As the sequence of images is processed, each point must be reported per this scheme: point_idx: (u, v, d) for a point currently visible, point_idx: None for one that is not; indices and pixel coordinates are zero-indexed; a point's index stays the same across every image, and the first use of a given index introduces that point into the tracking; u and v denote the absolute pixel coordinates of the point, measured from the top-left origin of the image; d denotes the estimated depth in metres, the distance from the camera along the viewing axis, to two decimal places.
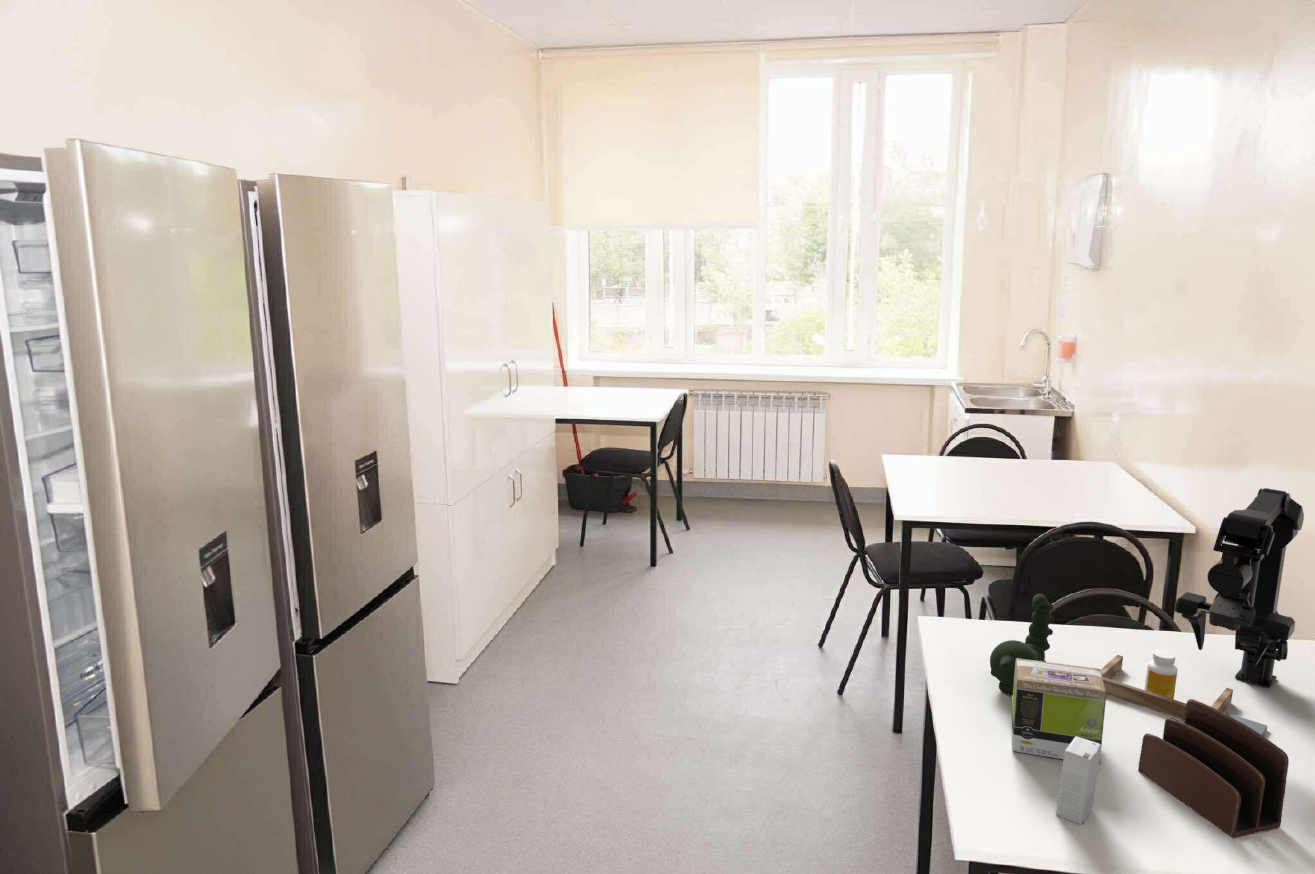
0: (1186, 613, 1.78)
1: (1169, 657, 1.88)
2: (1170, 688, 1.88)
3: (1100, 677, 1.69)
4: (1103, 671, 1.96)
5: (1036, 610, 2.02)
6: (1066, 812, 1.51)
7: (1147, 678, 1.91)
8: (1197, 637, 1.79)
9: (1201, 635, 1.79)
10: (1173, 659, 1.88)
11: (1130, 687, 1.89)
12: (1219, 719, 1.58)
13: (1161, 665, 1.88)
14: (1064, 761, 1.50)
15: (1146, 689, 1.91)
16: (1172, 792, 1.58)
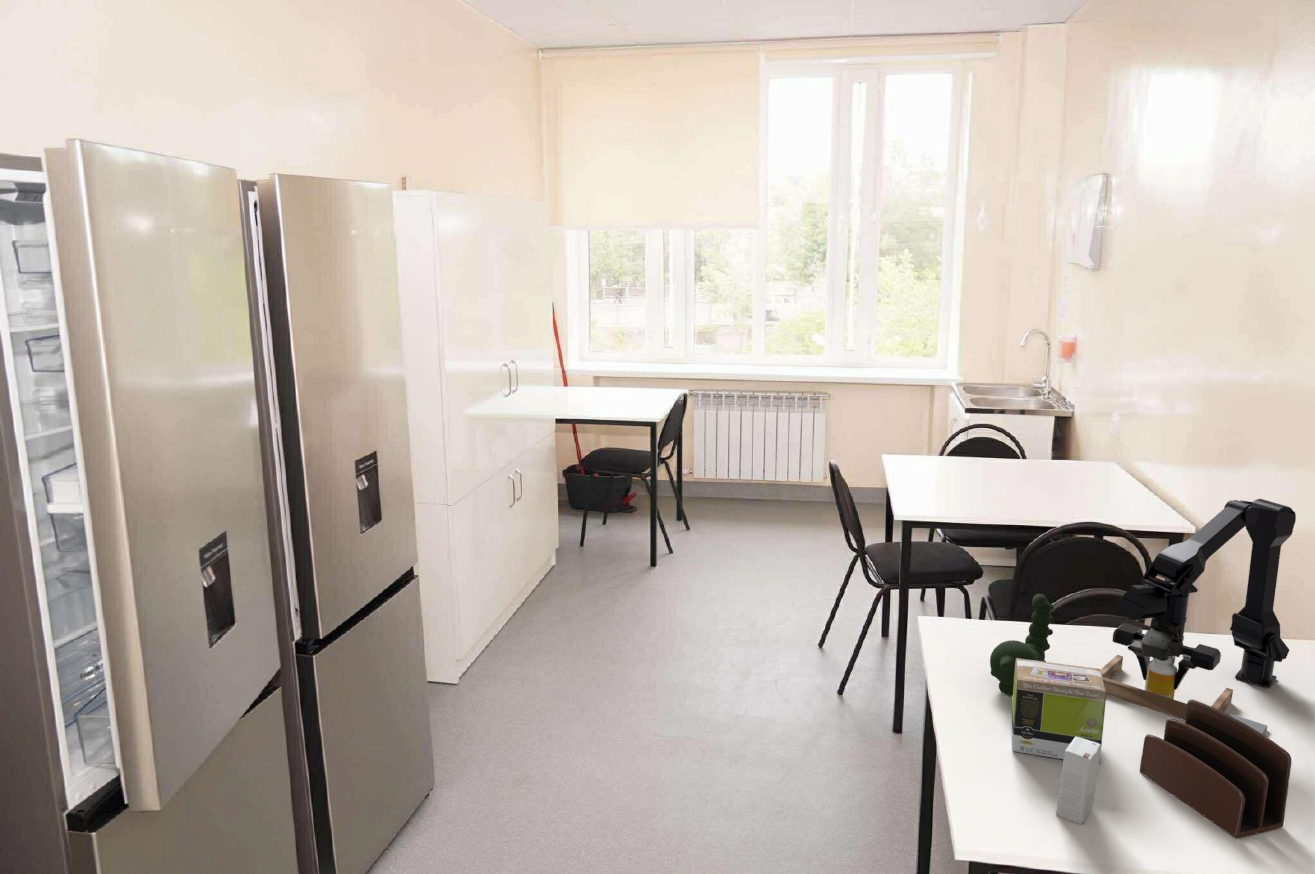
0: (1122, 643, 1.92)
1: (1169, 657, 1.88)
2: (1170, 688, 1.88)
3: (1100, 677, 1.69)
4: (1103, 671, 1.96)
5: (1036, 610, 2.02)
6: (1066, 812, 1.51)
7: (1147, 678, 1.91)
8: (1142, 668, 1.92)
9: (1146, 666, 1.91)
10: (1173, 659, 1.87)
11: (1130, 687, 1.89)
12: (1220, 719, 1.58)
13: (1161, 665, 1.88)
14: (1064, 761, 1.50)
15: (1146, 689, 1.91)
16: (1175, 793, 1.57)
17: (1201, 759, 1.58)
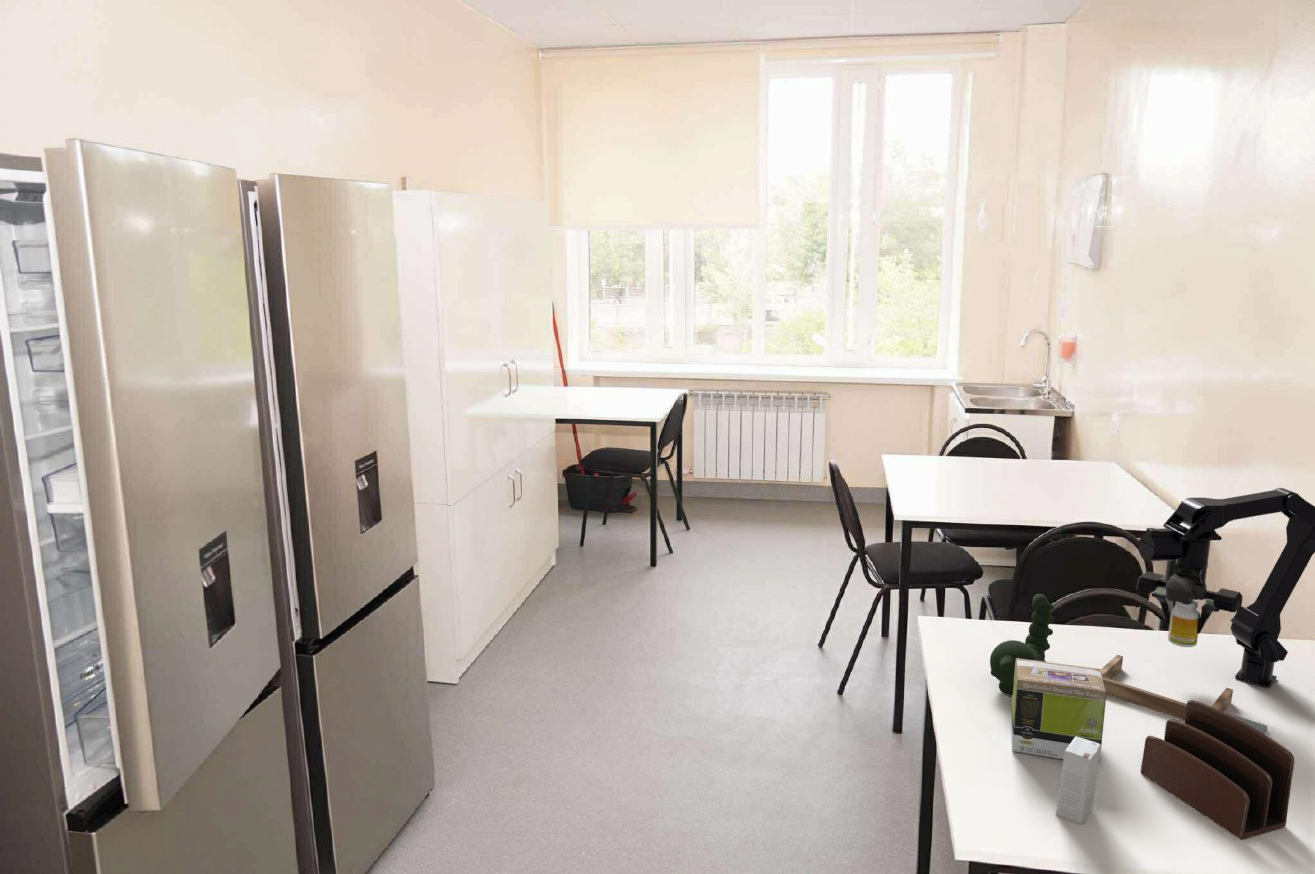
0: (1146, 590, 1.97)
1: (1192, 602, 1.93)
2: (1193, 632, 1.94)
3: (1100, 677, 1.69)
4: (1103, 671, 1.96)
5: (1036, 610, 2.02)
6: (1066, 812, 1.51)
7: (1171, 623, 1.96)
8: (1165, 614, 1.97)
9: (1169, 612, 1.97)
10: (1196, 604, 1.93)
11: (1130, 687, 1.89)
12: (1221, 719, 1.58)
13: (1184, 610, 1.94)
14: (1064, 761, 1.50)
15: (1170, 634, 1.97)
16: (1177, 794, 1.57)
17: (1203, 760, 1.57)
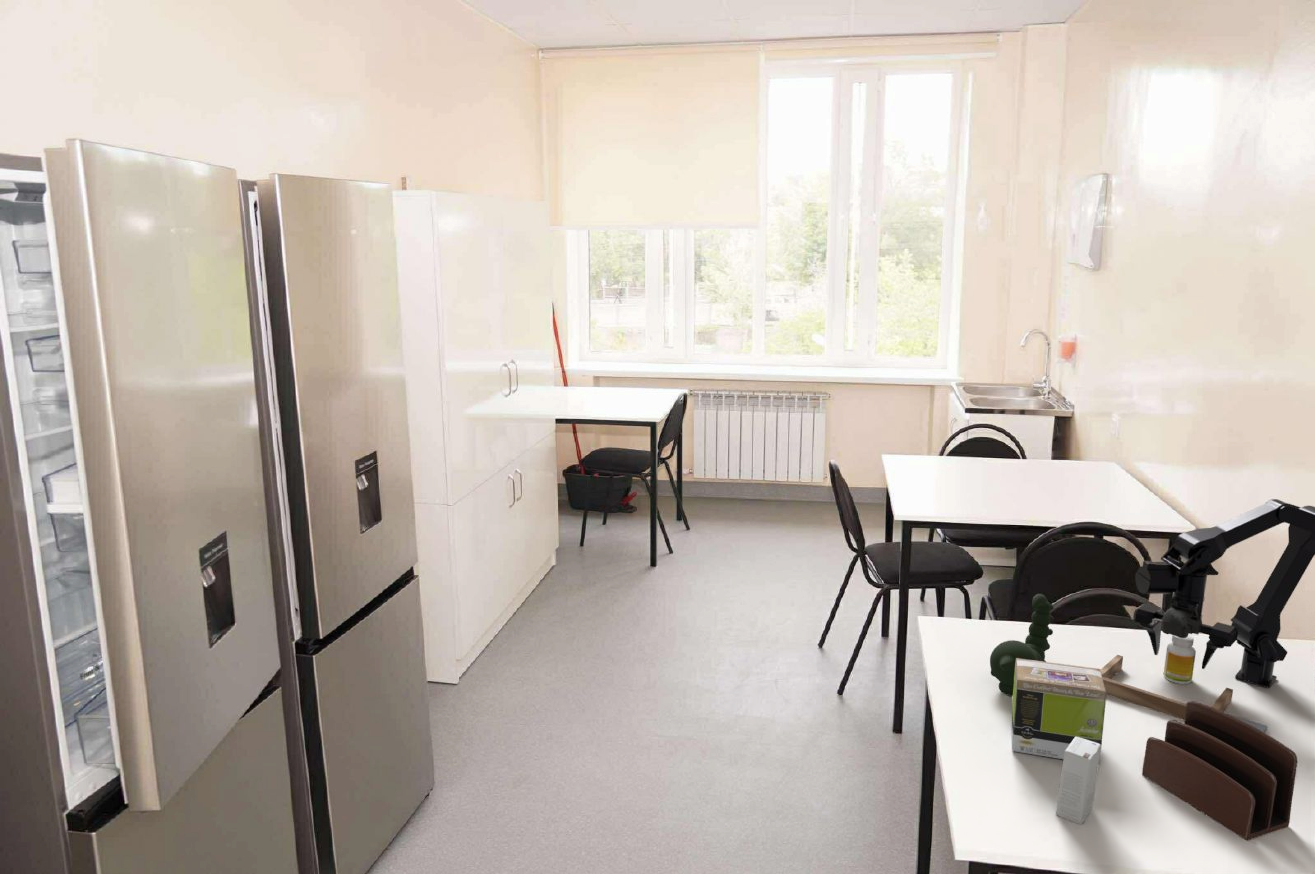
0: (1143, 622, 2.00)
1: (1188, 639, 1.96)
2: (1189, 669, 1.96)
3: (1100, 677, 1.69)
4: (1103, 671, 1.96)
5: (1036, 610, 2.02)
6: (1066, 812, 1.51)
7: (1166, 660, 1.99)
8: (1153, 643, 2.01)
9: (1156, 642, 2.01)
10: (1192, 641, 1.96)
11: (1130, 687, 1.89)
12: (1222, 719, 1.58)
13: (1179, 647, 1.96)
14: (1064, 761, 1.50)
15: (1165, 670, 1.99)
16: (1180, 796, 1.57)
17: (1205, 760, 1.57)
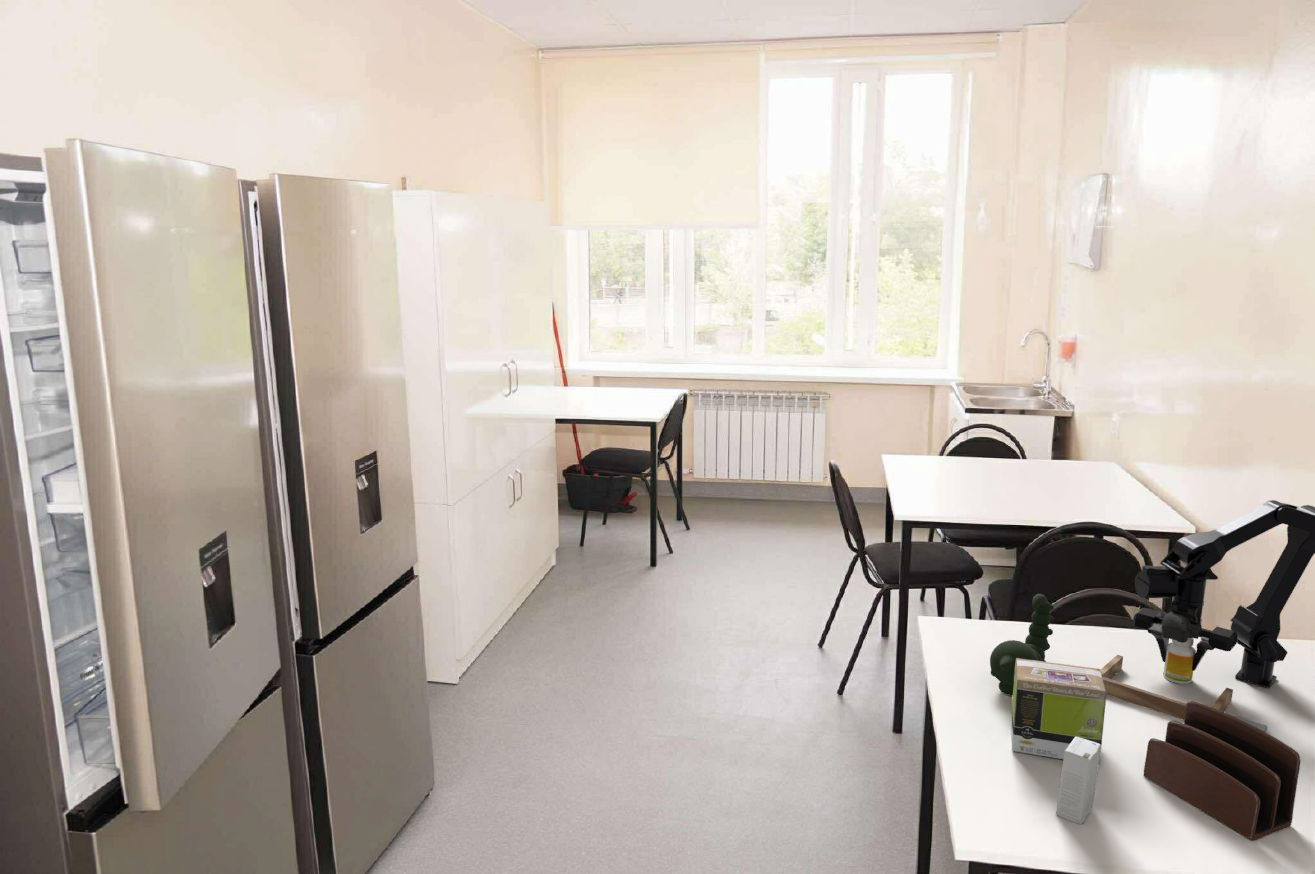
0: (1142, 626, 2.00)
1: (1188, 639, 1.96)
2: (1189, 669, 1.96)
3: (1100, 677, 1.69)
4: (1103, 671, 1.96)
5: (1036, 610, 2.02)
6: (1066, 812, 1.51)
7: (1166, 660, 1.99)
8: (1161, 650, 2.00)
9: (1165, 648, 2.00)
10: (1192, 641, 1.96)
11: (1130, 687, 1.89)
12: (1223, 720, 1.58)
13: (1180, 647, 1.96)
14: (1064, 761, 1.50)
15: (1165, 670, 1.99)
16: (1183, 797, 1.56)
17: (1207, 761, 1.57)
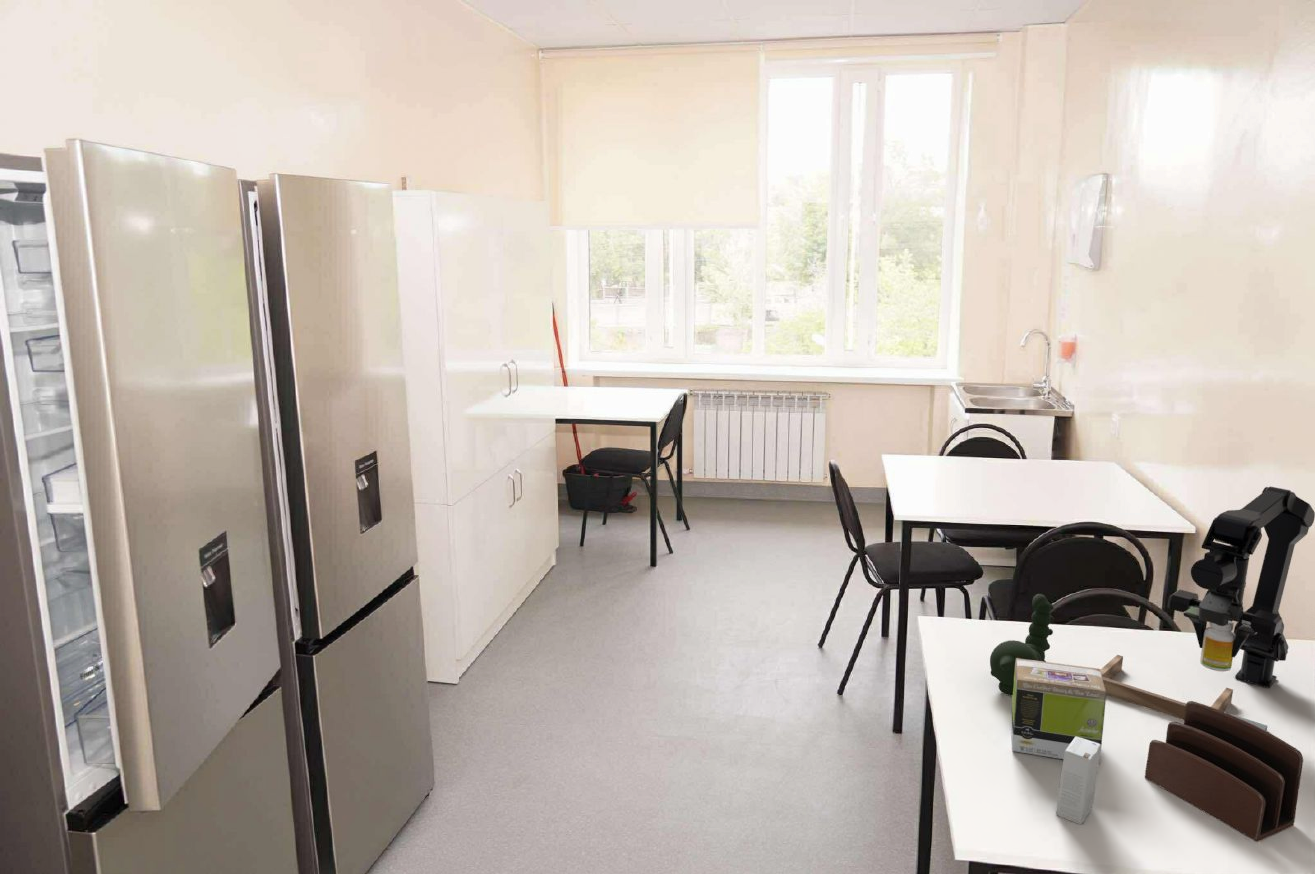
0: (1178, 609, 1.86)
1: None
2: (1228, 656, 1.82)
3: (1100, 677, 1.69)
4: (1103, 671, 1.96)
5: (1036, 610, 2.02)
6: (1066, 812, 1.51)
7: (1203, 645, 1.85)
8: (1198, 635, 1.86)
9: (1202, 633, 1.85)
10: (1231, 625, 1.81)
11: (1130, 687, 1.89)
12: (1224, 720, 1.58)
13: (1218, 631, 1.82)
14: (1064, 761, 1.50)
15: (1202, 657, 1.85)
16: (1186, 798, 1.56)
17: (1208, 762, 1.57)
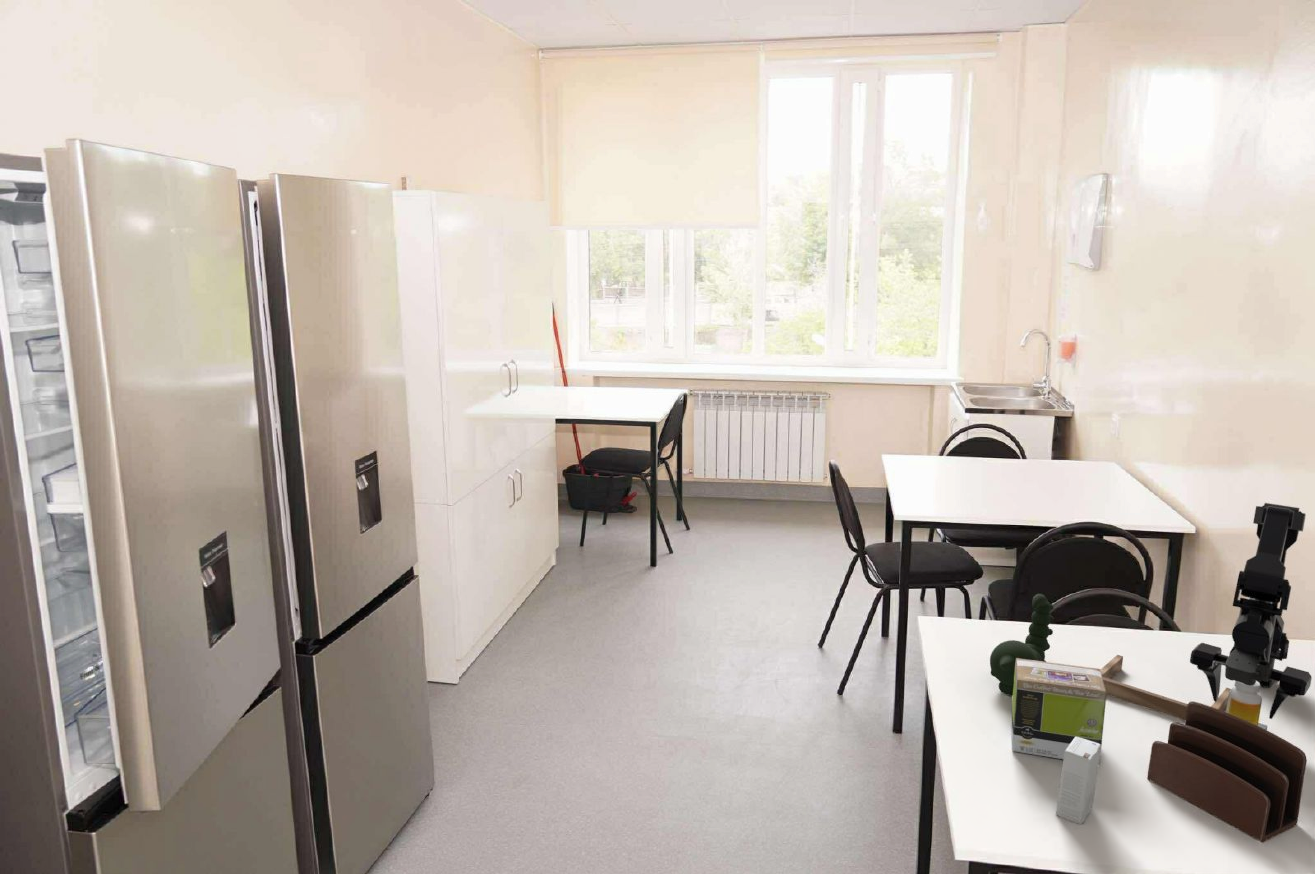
0: (1201, 665, 1.78)
1: (1254, 685, 1.74)
2: (1254, 719, 1.74)
3: (1100, 677, 1.69)
4: (1103, 671, 1.96)
5: (1036, 610, 2.02)
6: (1066, 812, 1.51)
7: (1228, 707, 1.77)
8: (1212, 689, 1.79)
9: (1216, 687, 1.79)
10: (1258, 687, 1.74)
11: (1130, 687, 1.89)
12: (1226, 720, 1.58)
13: (1244, 693, 1.75)
14: (1064, 761, 1.50)
15: None
16: (1189, 799, 1.56)
17: (1211, 762, 1.57)
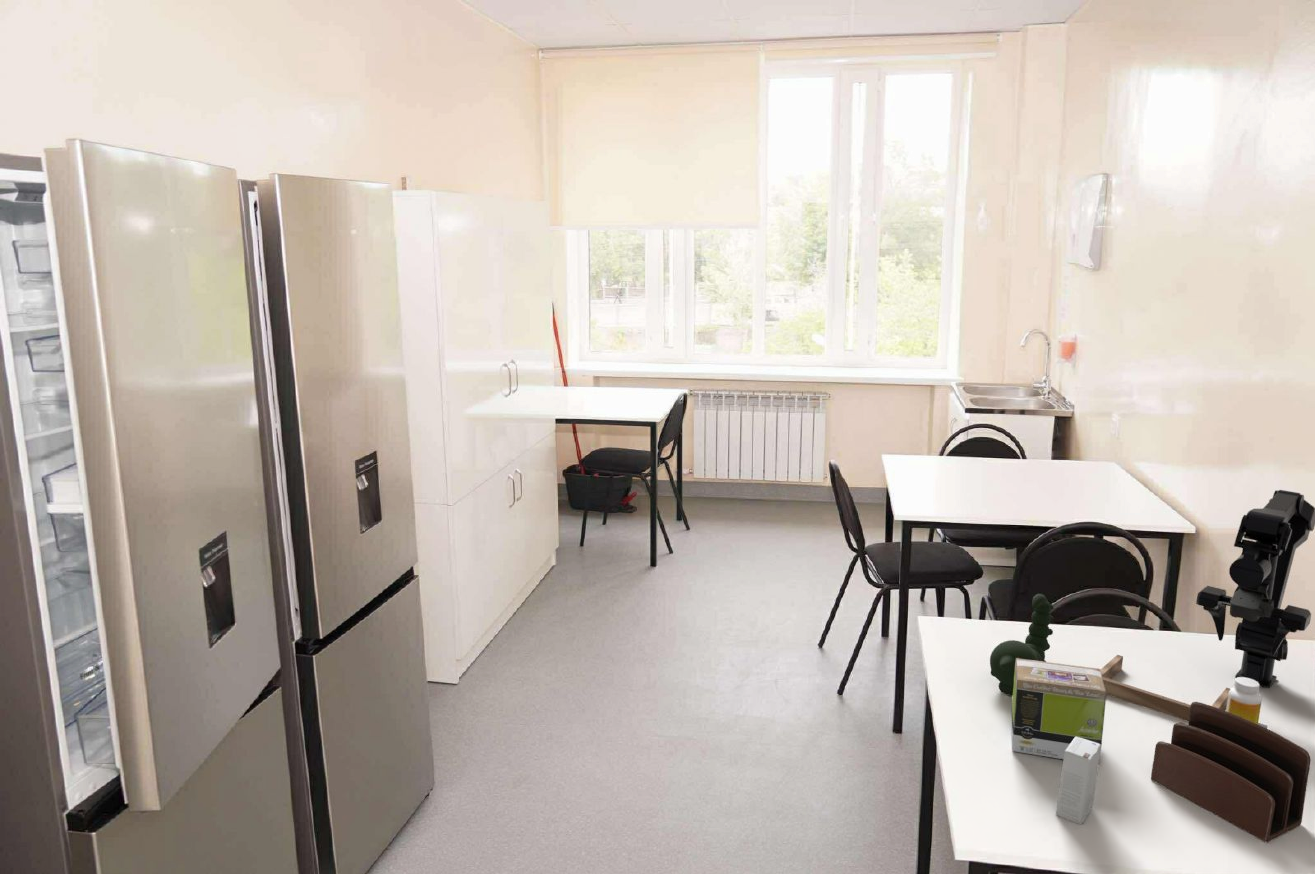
0: (1207, 605, 1.88)
1: (1253, 685, 1.74)
2: (1254, 719, 1.74)
3: (1100, 677, 1.69)
4: (1103, 671, 1.96)
5: (1036, 610, 2.02)
6: (1066, 812, 1.51)
7: (1228, 707, 1.77)
8: (1217, 628, 1.90)
9: (1221, 626, 1.89)
10: (1257, 687, 1.74)
11: (1130, 687, 1.89)
12: (1229, 720, 1.58)
13: (1244, 693, 1.75)
14: (1064, 761, 1.50)
15: None
16: (1193, 800, 1.56)
17: (1215, 762, 1.57)
